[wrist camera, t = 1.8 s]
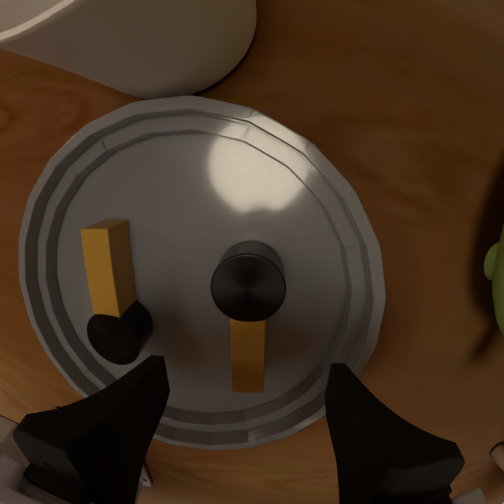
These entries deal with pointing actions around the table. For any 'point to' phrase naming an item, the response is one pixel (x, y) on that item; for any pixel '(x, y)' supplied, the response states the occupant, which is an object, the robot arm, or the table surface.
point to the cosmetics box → (10, 441)
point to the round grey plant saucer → (206, 261)
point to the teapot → (497, 278)
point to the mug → (133, 40)
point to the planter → (499, 456)
